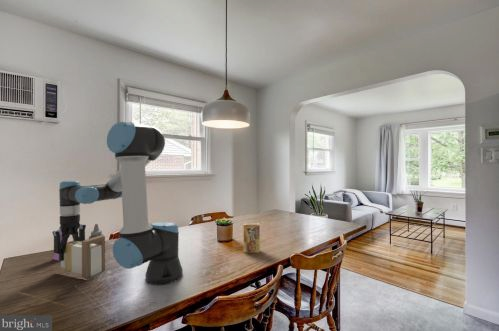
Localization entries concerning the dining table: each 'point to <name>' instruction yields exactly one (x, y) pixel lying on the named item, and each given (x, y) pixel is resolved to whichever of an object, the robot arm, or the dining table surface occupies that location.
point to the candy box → (251, 237)
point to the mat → (98, 274)
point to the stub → (69, 254)
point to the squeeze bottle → (96, 232)
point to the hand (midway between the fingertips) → (70, 264)
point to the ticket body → (88, 257)
